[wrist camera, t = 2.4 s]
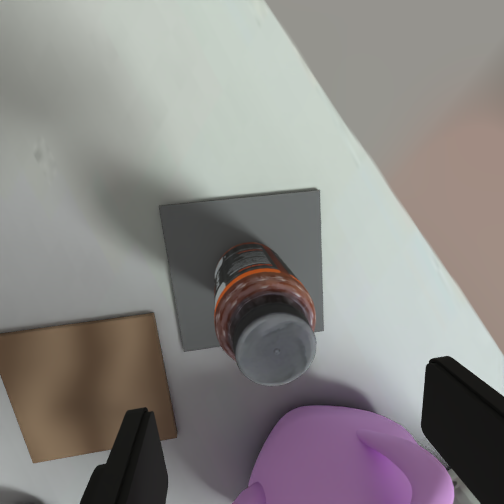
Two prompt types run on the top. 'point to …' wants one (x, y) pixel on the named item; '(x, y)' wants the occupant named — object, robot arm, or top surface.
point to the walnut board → (84, 383)
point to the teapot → (344, 462)
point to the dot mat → (229, 235)
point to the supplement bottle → (263, 315)
